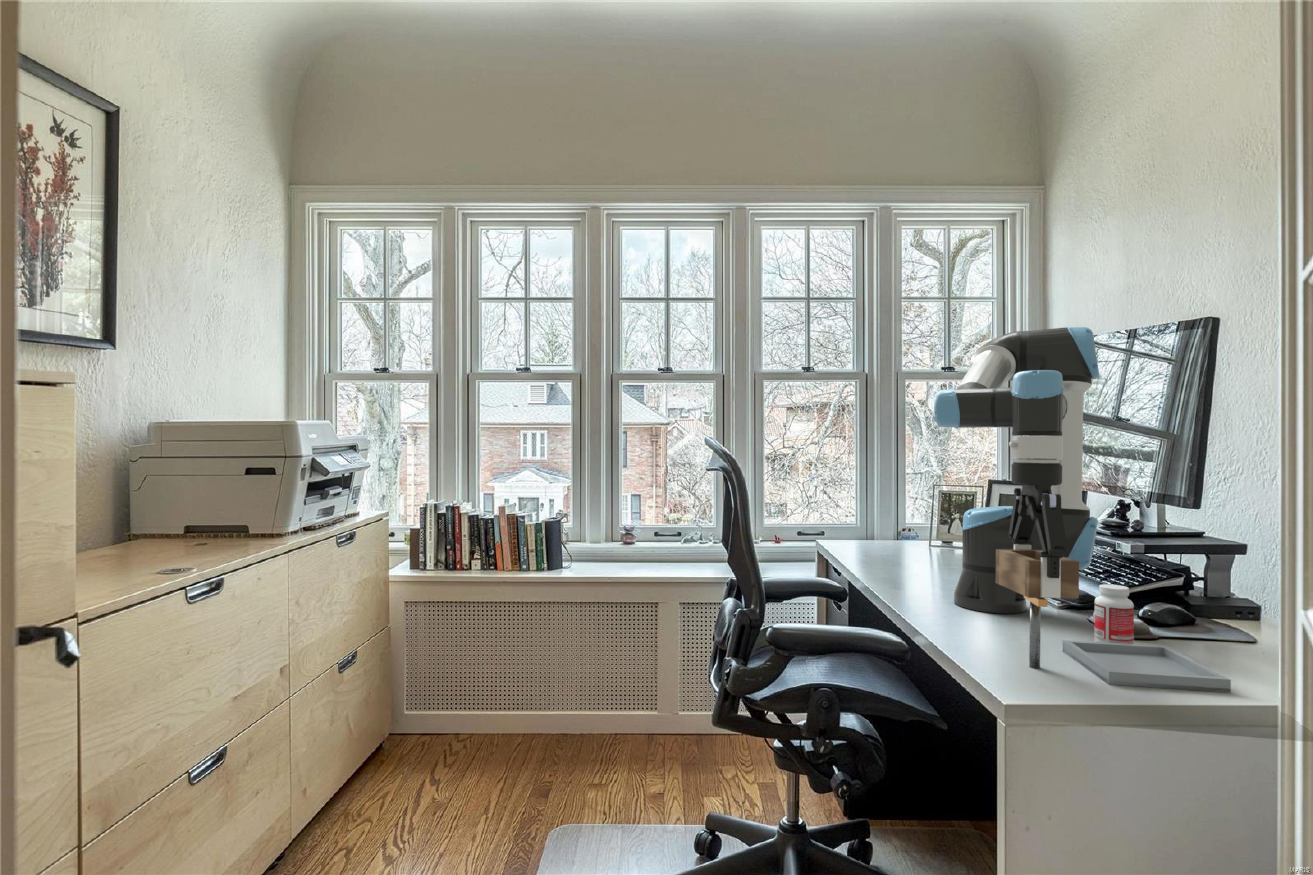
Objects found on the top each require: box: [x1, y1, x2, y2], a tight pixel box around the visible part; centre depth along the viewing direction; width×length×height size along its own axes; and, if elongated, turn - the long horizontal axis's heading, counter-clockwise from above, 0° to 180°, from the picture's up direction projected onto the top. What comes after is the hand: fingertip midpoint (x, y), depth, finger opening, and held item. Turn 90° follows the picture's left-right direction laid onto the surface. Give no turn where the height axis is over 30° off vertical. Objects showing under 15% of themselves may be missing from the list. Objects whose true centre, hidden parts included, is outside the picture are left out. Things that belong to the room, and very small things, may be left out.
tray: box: [1062, 639, 1232, 693], centre depth 112 cm, size 17×17×2 cm
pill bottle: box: [1093, 583, 1135, 644], centre depth 126 cm, size 6×6×11 cm
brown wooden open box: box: [996, 549, 1080, 599], centre depth 113 cm, size 11×9×6 cm
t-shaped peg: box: [1024, 596, 1048, 669], centre depth 113 cm, size 6×2×12 cm, turn 170°
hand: (1035, 588), depth 113 cm, fingers closed on brown wooden open box, 12 cm apart
